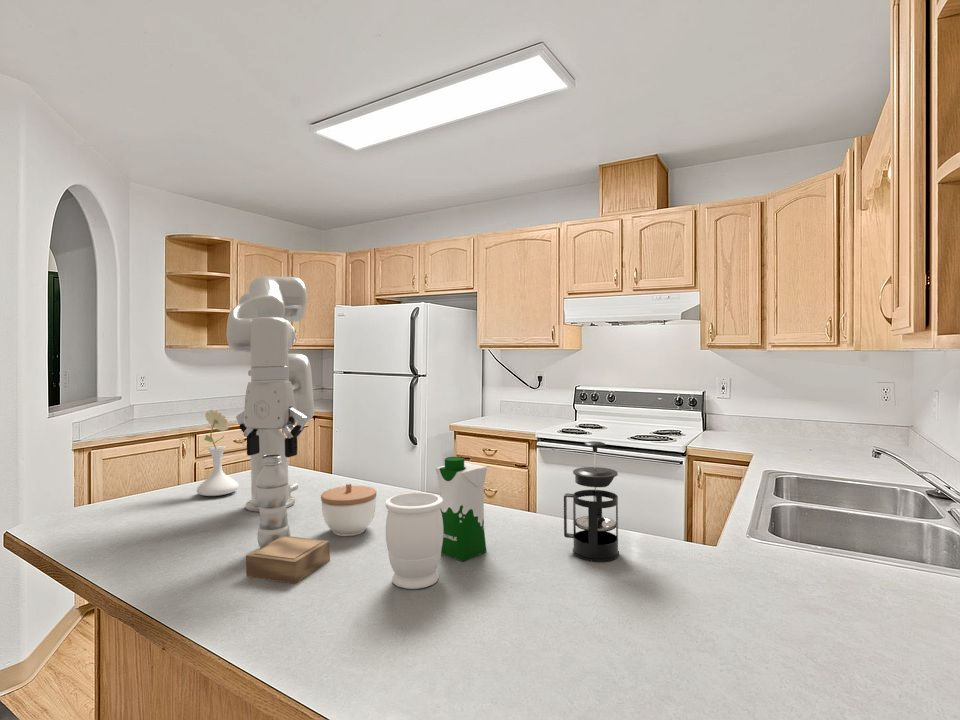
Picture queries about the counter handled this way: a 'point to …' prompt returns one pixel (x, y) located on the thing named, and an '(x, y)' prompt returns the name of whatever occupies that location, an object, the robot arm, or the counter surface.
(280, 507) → the plastic bottle
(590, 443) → the french press
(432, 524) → the jar
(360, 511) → the lidded bowl
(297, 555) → the base slab
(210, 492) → the flower in vase
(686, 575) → the counter surface
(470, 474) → the milk carton
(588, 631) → the counter surface
